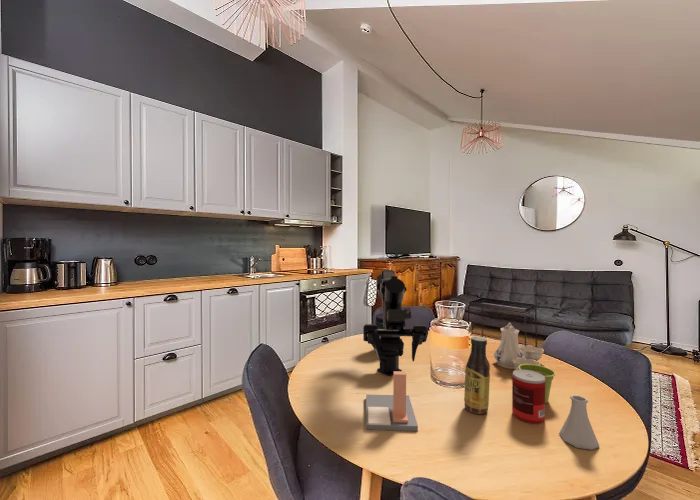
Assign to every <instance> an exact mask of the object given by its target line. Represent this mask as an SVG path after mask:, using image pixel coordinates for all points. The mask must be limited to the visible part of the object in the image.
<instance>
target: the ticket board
mask: <svg viewBox="0 0 700 500" xmlns="http://www.w3.org/2000/svg"><path fill="white" fill-rule="evenodd" d="M392 408H393V394H365V414H366V416H365V418H366V419H365V421H366V422H365V424H366V427H365V428H366V429H365V430H374V431H404V432H405V431H407V432H408V431H409V432H418V431H419V425H418V422H417V421H418V420H417V418H416V416H415V412H414V408H413V405H412V401H411V399H410V395H408V394H406V413H407V417H408V423H400V422H393V416H392Z"/></svg>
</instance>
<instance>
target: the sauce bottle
mask: <svg viewBox="0 0 700 500" xmlns="http://www.w3.org/2000/svg"><path fill="white" fill-rule="evenodd" d="M470 344H471V347H470V349H471V350H470V354H469V357H468V360H467V362H466V365H465V372H464V373H465V375H464V377H465V378H464V398H463V400H464V401H463V402H464V407H465V409H466V410H467V411H468V412H470V413H472V414H475V415H484V414H486V413H488V411H489V403H490V381H491V377H490V376H491V375H490V370H491V363H490V362H489V360H488V359H487V353H486V352H487V344H488V340H487V339H486V338H485V337H482V336H472V337H471V338H470Z"/></svg>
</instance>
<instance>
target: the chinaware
mask: <svg viewBox="0 0 700 500" xmlns="http://www.w3.org/2000/svg"><path fill="white" fill-rule="evenodd" d="M499 329H500V332H501V338H500V339H501V341H500V344H499V346H498V347H497V348H496V350H495V352H494V353H493V358H494V359H495V361H496V364H497V365H498V366H499V367H502V368H504V369H508V370H509V369H510V370H519V368H518V367H519V365H522V364H533V365H539V366H542V363H540V362H537V361H540V359H541V358H542V355H543V354H544V353H545V350H544V348H543V347H536V346H534V345H531V344H530V345H529V344H528V345H526V346H524V345H519V340H518V338H519V337H518V336H519V332H520V330H519V329H517V328H515V327H514V326H513V325H512V323H511V322H508V323H507V325H506V326H504V327H501V328H499Z"/></svg>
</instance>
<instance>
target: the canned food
mask: <svg viewBox="0 0 700 500" xmlns="http://www.w3.org/2000/svg"><path fill="white" fill-rule="evenodd" d="M511 378H512V380H511V384H512V385H511V391H512V392H511V395H512V400H511V401H512V403H511V410H512V413H513V416H514V417H515V418H516V419H518V420H520V421H522V422H524V423H529V424H532V425H533V424H541V423H543V422H544V421H545V418H546V403H545V377H544V376H543V375H542V374H540V373H537V372H534V371H530V370H516V369H514V370H513V371H512V377H511Z"/></svg>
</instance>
